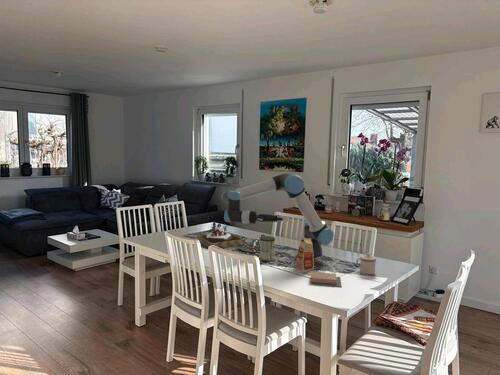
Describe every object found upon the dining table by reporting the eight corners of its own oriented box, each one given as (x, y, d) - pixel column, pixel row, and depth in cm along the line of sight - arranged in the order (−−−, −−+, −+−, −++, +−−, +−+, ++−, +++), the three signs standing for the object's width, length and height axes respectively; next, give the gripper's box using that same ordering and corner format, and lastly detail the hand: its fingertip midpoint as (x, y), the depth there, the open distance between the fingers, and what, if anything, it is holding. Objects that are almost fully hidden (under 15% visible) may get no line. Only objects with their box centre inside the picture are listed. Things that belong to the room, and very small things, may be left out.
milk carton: (303, 271, 227) (304, 239, 225) (294, 267, 235) (295, 235, 233) (315, 269, 231) (316, 237, 229) (306, 265, 239) (307, 234, 237)
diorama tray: (228, 236, 310) (228, 232, 310) (245, 244, 286) (245, 239, 286) (196, 240, 296) (196, 235, 295) (211, 249, 272) (211, 243, 271)
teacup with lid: (377, 272, 228) (378, 253, 227) (371, 276, 222) (372, 256, 220) (359, 267, 236) (360, 249, 235) (352, 271, 230) (353, 252, 228)
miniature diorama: (202, 245, 283) (202, 222, 281) (209, 238, 303) (209, 218, 301) (228, 246, 280) (228, 224, 278) (233, 240, 300) (234, 219, 298)
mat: (311, 284, 205) (311, 284, 205) (312, 275, 220) (312, 274, 220) (341, 287, 203) (341, 286, 202) (340, 277, 217) (340, 277, 217)
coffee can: (259, 255, 258) (260, 235, 256) (274, 256, 257) (275, 236, 255) (258, 260, 248) (259, 239, 246) (274, 261, 247) (275, 240, 245)
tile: (310, 277, 208) (336, 279, 205) (311, 271, 217) (336, 273, 215) (310, 282, 208) (336, 284, 205) (311, 276, 218) (335, 278, 215)
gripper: (251, 221, 236) (288, 223, 232) (247, 225, 223) (287, 227, 219) (251, 209, 235) (289, 211, 231) (247, 213, 222) (287, 214, 218)
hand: (288, 219), depth 225 cm, fingers closed
